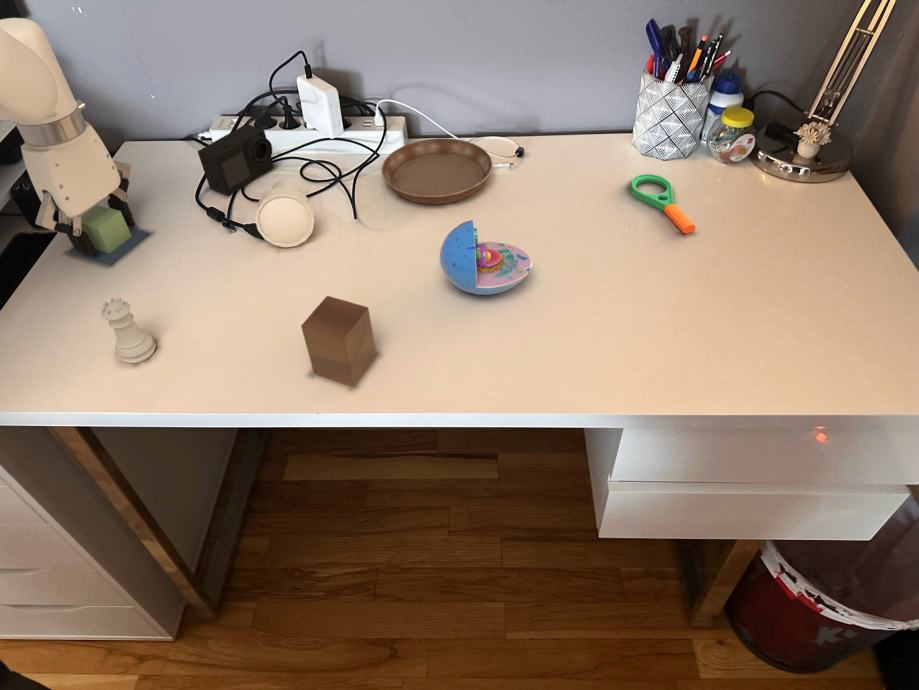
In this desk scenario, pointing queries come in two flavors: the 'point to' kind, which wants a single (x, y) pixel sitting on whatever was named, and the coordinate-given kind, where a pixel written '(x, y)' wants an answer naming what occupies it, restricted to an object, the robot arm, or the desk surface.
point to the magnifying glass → (657, 202)
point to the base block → (339, 340)
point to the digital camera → (236, 159)
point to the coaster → (118, 252)
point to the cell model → (481, 262)
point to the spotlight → (285, 215)
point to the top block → (105, 228)
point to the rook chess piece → (127, 332)
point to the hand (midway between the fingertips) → (107, 237)
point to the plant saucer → (437, 170)
